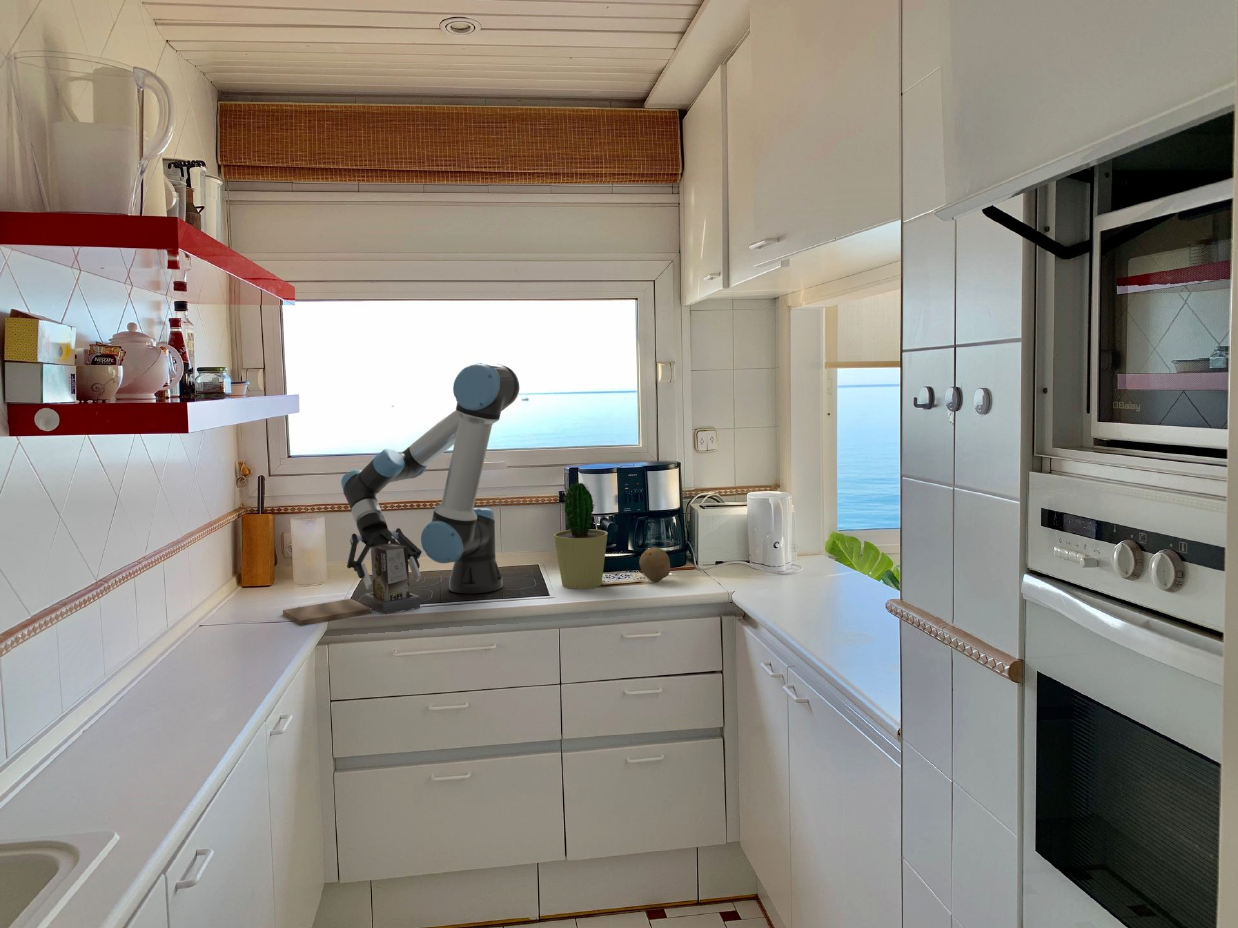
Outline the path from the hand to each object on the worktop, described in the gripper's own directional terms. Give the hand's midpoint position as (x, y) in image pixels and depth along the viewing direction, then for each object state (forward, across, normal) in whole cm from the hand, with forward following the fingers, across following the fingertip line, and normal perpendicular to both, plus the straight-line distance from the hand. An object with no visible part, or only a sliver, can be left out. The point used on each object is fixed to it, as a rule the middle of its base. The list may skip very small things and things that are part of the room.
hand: (394, 582), depth 241 cm
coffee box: (+3, 0, -6) cm, 7 cm away
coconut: (+20, -70, +10) cm, 74 cm away
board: (0, +16, -9) cm, 18 cm away
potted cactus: (+12, -52, +3) cm, 54 cm away
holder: (+3, 0, -6) cm, 7 cm away
